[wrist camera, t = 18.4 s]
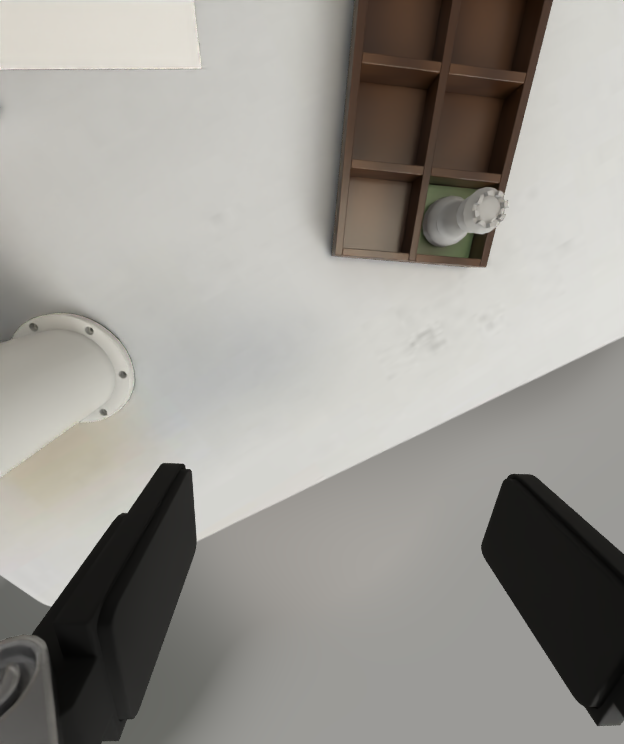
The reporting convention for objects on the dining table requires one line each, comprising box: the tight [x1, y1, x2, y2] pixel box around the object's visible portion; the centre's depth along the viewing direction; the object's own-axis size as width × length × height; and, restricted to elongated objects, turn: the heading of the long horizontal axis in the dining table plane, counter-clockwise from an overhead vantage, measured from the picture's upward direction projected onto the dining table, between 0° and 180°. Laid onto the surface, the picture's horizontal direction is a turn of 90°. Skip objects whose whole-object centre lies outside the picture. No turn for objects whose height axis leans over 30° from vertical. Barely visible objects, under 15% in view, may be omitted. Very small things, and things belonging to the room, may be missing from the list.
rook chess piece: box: [422, 187, 508, 247], centre depth 26 cm, size 4×4×8 cm
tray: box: [332, 0, 553, 267], centre depth 27 cm, size 15×22×3 cm
